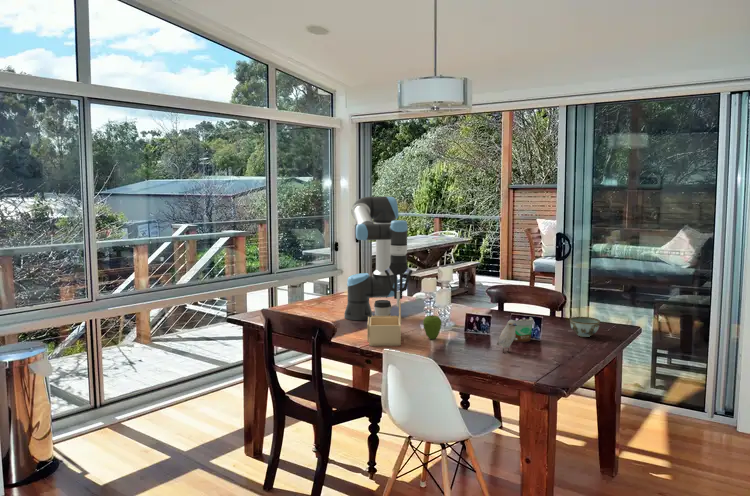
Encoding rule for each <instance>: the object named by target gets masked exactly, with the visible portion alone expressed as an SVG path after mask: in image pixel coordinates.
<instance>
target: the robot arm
mask: <svg viewBox="0 0 750 496" xmlns="http://www.w3.org/2000/svg"><path fill="white" fill-rule="evenodd" d="M350 212H351V215H352V218H353V219H354V220H355V221H356V226H355V238H356V239H357V240H358V241H376V242H375V270H374V271H373V272H372V275H370V274H369V273H367V272H363V273H362V272H361V273H355V274H352V275H350V276H349V277H347V282H346V285H347V305H346V306H345V307H346V308H345V311H344V315H343V316H344V319H346V320H350V321H366V320H367V321H368V317H369V320H370V317H371V316H374V315H373V314H374V313H373V311H372V307H371V304H370V299H374V298H375V299H377V298H379V299H381V298H394V300H396V307H399V300H400V301H401V300H402V299H403V293H404V292H405V291H407V289H408V285H409V281H410V277H411V275H412V273H413V269H410V268H409V265H408V256H407V254H408V229H409V227H408V221H407V220H400V219H399V207H398V201H397V199H396V198H395V197H393V196H364V197H361V198H358V200H356V201H355V202H354V203H353V204H352V207H351V211H350ZM397 219H398V220H397ZM405 273H407V274H406V278H405V281H404V286H403V277H404V274H405ZM398 275H399V279H398ZM398 280H399V281H398ZM398 284H399V291H398Z"/></svg>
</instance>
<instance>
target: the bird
mask: <svg viewBox="0 0 750 496" xmlns="http://www.w3.org/2000/svg"><path fill="white" fill-rule="evenodd" d="M513 320H514V319H509V320H508V321H507V323H506V325H505V327H504V328H503V329H502V330H501V332H500V335H499V337H498V340H497V342H496V346H501V347H502V353H504V354H505V353H506V354H510V346H511V345H512V344H513V342H514V341H513V340H514V339H515V326H517V325H516V322H515V321H513ZM505 348H507V350H506V352H505Z"/></svg>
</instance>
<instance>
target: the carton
mask: <svg viewBox="0 0 750 496" xmlns="http://www.w3.org/2000/svg"><path fill="white" fill-rule="evenodd" d="M401 325H402V324H400V320H399V315H390V316H375V315H373V316H371V317H370V319H369V317H368V319H367V325H366V326H367V331H366V332H367V343H369V347H401V344H402V342H401V341H402V339H401V337H402V336H401V334H402V333H401V332H402V331H401V328H402V326H401Z"/></svg>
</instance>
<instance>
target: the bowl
mask: <svg viewBox="0 0 750 496" xmlns="http://www.w3.org/2000/svg"><path fill="white" fill-rule="evenodd" d="M569 323H570V328H571V330H572V331H573V333H575V334H576V335H578V336H580V337H579V338H582V337H590V336H591V337H592V336H593V335H595V334H596V333H597V332H598V330H599V328H600V323H601V320H600V319H599V318H593V317H589V316H573V317H570V318H569ZM578 336H577V337H578ZM591 337H590V338H591Z"/></svg>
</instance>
